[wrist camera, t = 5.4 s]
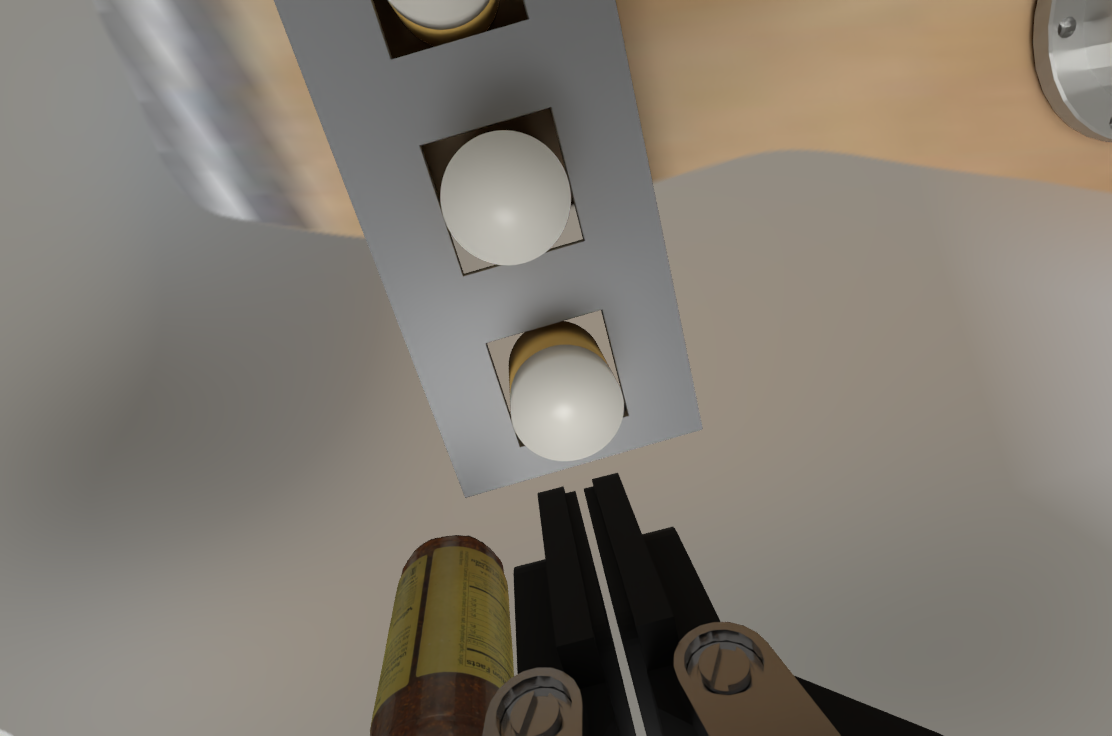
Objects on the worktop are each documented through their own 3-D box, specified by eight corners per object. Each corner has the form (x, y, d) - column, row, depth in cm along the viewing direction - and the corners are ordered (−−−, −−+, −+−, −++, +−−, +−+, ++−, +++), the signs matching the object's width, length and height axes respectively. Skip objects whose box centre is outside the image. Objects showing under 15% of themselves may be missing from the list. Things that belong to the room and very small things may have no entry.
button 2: (589, 309, 28) (609, 342, 23) (611, 394, 30) (635, 443, 24) (496, 335, 28) (496, 375, 23) (523, 419, 30) (528, 473, 24)
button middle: (540, 123, 25) (551, 113, 20) (568, 229, 27) (584, 245, 21) (437, 153, 25) (421, 151, 20) (471, 257, 27) (464, 280, 21)
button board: (553, -182, 23) (564, -250, 19) (678, 397, 32) (702, 429, 28) (263, -97, 23) (216, -148, 19) (469, 457, 32) (465, 497, 28)
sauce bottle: (426, 627, 36) (347, 1133, 17) (384, 547, 34) (241, 1028, 15) (527, 593, 36) (558, 1067, 17) (491, 511, 34) (481, 951, 15)
